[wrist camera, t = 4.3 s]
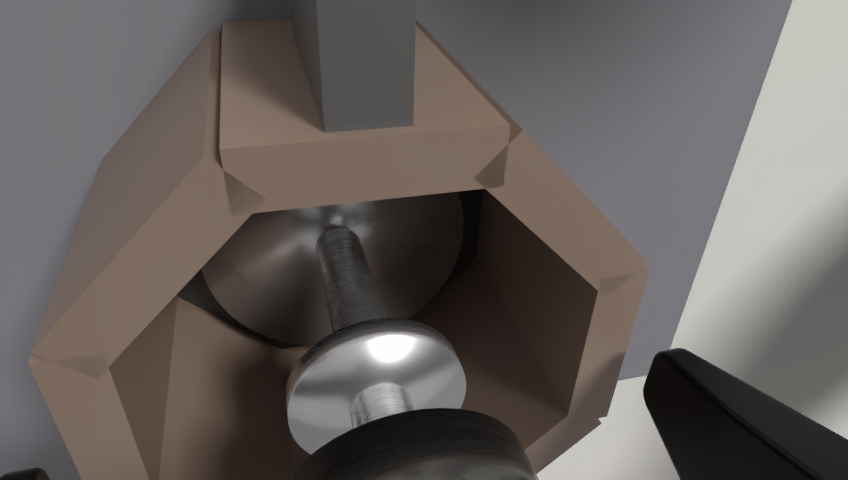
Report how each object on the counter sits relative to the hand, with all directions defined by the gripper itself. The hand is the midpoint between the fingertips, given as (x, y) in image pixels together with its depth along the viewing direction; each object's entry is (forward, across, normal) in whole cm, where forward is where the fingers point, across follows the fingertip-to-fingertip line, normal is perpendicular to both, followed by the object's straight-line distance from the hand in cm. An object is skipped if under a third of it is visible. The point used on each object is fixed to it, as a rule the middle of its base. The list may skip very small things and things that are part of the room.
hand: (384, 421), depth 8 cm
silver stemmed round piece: (+5, 0, 0) cm, 5 cm away
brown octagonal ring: (+5, 0, -1) cm, 6 cm away
